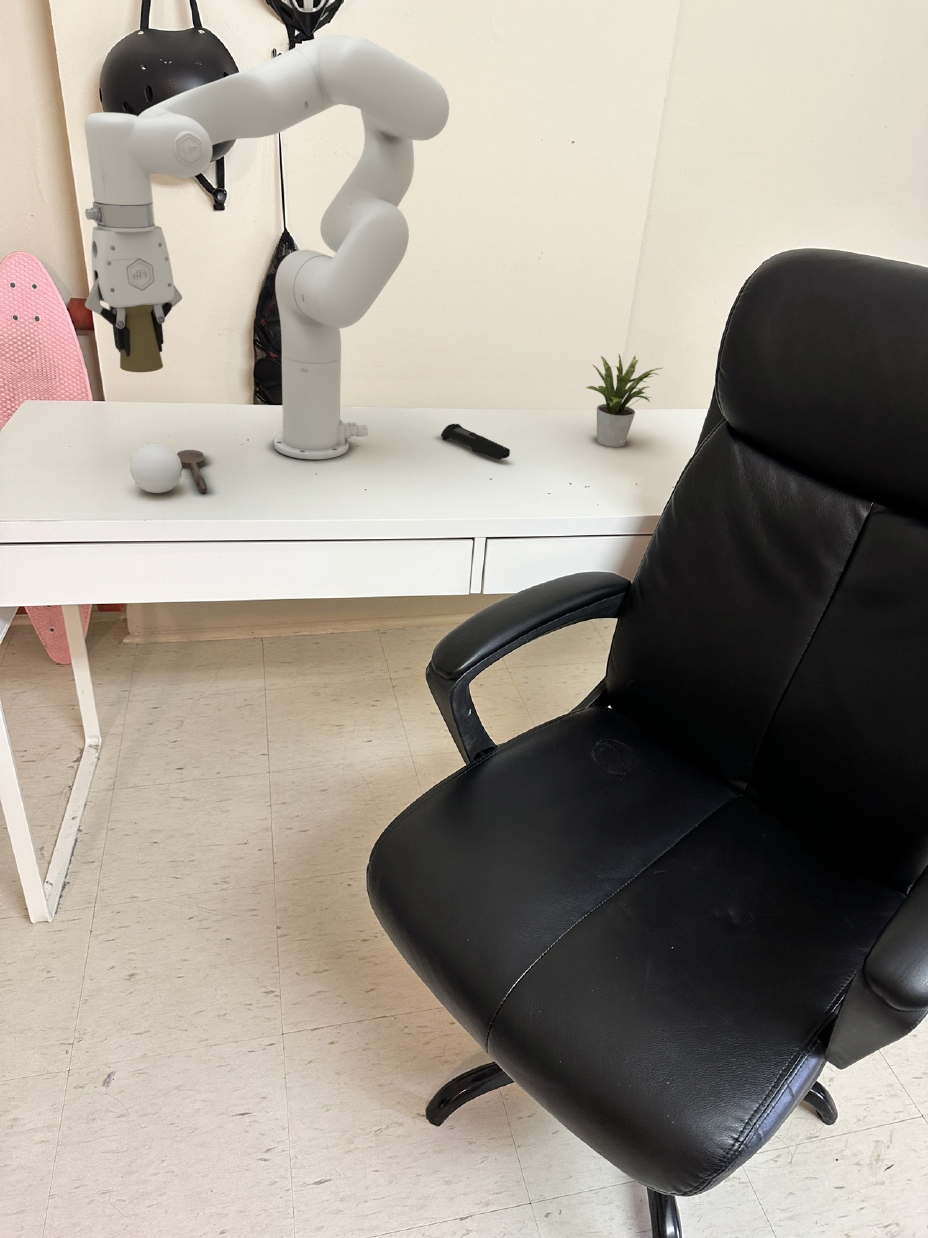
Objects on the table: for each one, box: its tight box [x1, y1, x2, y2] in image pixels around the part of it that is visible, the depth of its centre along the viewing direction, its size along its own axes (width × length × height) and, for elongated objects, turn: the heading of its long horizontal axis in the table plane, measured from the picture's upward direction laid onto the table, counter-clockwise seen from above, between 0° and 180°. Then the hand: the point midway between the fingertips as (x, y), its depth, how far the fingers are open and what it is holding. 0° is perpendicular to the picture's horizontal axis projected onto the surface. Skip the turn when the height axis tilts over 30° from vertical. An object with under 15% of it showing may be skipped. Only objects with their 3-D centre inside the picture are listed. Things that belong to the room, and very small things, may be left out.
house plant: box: [585, 354, 663, 448], centre depth 171 cm, size 14×14×16 cm
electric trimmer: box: [440, 423, 511, 460], centre depth 166 cm, size 4×16×3 cm, turn 42°
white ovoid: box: [129, 442, 184, 494], centre depth 140 cm, size 10×7×7 cm
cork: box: [119, 304, 164, 373], centre depth 135 cm, size 6×6×11 cm
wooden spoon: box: [176, 449, 209, 494], centre depth 147 cm, size 16×4×1 cm, turn 22°
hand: (140, 350), depth 137 cm, fingers closed on cork, 3 cm apart
